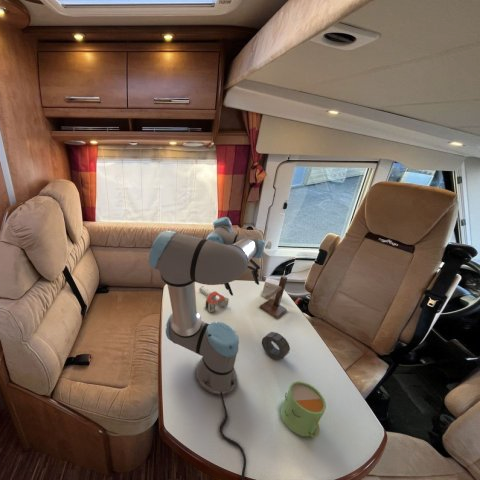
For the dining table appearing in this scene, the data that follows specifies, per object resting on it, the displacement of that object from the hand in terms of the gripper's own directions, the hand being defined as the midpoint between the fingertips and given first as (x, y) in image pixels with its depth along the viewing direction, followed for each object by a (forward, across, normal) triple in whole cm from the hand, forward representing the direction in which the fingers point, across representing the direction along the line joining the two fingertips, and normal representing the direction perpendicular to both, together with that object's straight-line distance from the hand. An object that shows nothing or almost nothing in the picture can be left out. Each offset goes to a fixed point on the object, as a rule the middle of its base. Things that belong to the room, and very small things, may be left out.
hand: (244, 289), depth 113 cm
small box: (+24, -19, -22) cm, 38 cm away
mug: (+29, +10, +42) cm, 52 cm away
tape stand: (+24, -11, -9) cm, 28 cm away
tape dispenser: (+9, +13, -19) cm, 25 cm away
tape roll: (+25, +2, +16) cm, 30 cm away
